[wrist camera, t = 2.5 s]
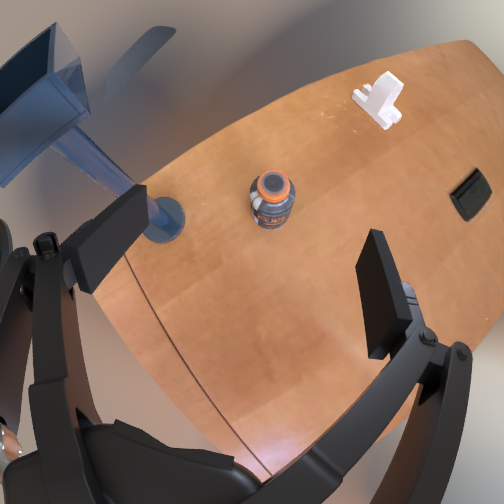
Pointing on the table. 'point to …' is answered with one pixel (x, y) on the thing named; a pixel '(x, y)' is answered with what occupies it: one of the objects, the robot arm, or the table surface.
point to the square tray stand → (62, 124)
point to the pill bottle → (271, 199)
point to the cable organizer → (380, 99)
